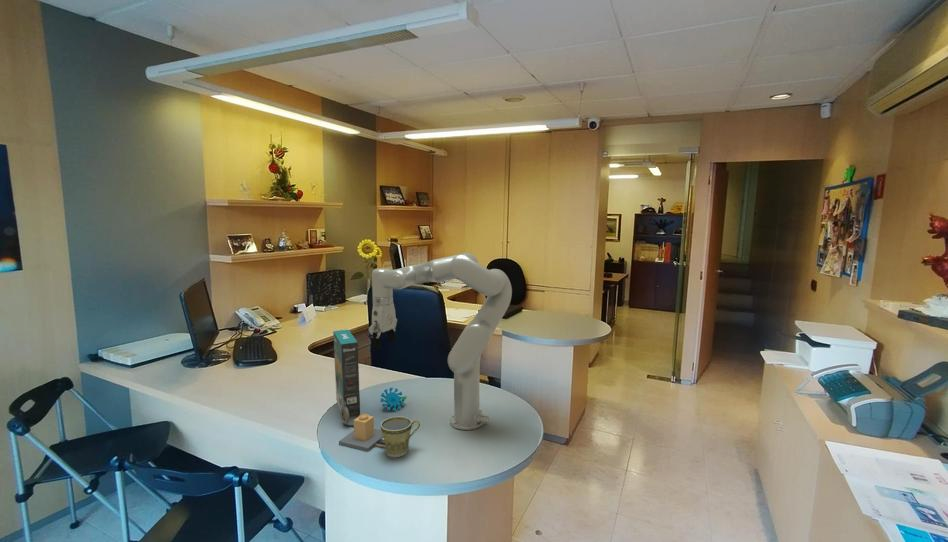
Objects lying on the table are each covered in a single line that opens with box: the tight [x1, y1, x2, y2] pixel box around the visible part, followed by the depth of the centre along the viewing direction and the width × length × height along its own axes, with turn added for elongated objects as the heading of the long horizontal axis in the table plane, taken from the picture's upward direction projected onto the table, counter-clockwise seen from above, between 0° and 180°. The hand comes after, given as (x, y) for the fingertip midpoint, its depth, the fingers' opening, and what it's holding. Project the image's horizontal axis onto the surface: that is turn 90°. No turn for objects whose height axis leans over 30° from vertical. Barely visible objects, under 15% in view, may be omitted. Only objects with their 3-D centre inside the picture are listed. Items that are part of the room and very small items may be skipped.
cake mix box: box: [332, 329, 361, 418], centre depth 170 cm, size 22×6×30 cm, turn 26°
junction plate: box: [338, 428, 386, 452], centre depth 145 cm, size 16×12×6 cm
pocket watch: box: [340, 400, 358, 427], centre depth 157 cm, size 8×8×10 cm
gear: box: [380, 387, 408, 412], centre depth 172 cm, size 11×6×10 cm
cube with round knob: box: [353, 413, 375, 441], centre depth 146 cm, size 5×5×8 cm
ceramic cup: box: [380, 415, 421, 459], centre depth 138 cm, size 13×10×10 cm
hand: (384, 344), depth 162 cm, fingers open, 9 cm apart
